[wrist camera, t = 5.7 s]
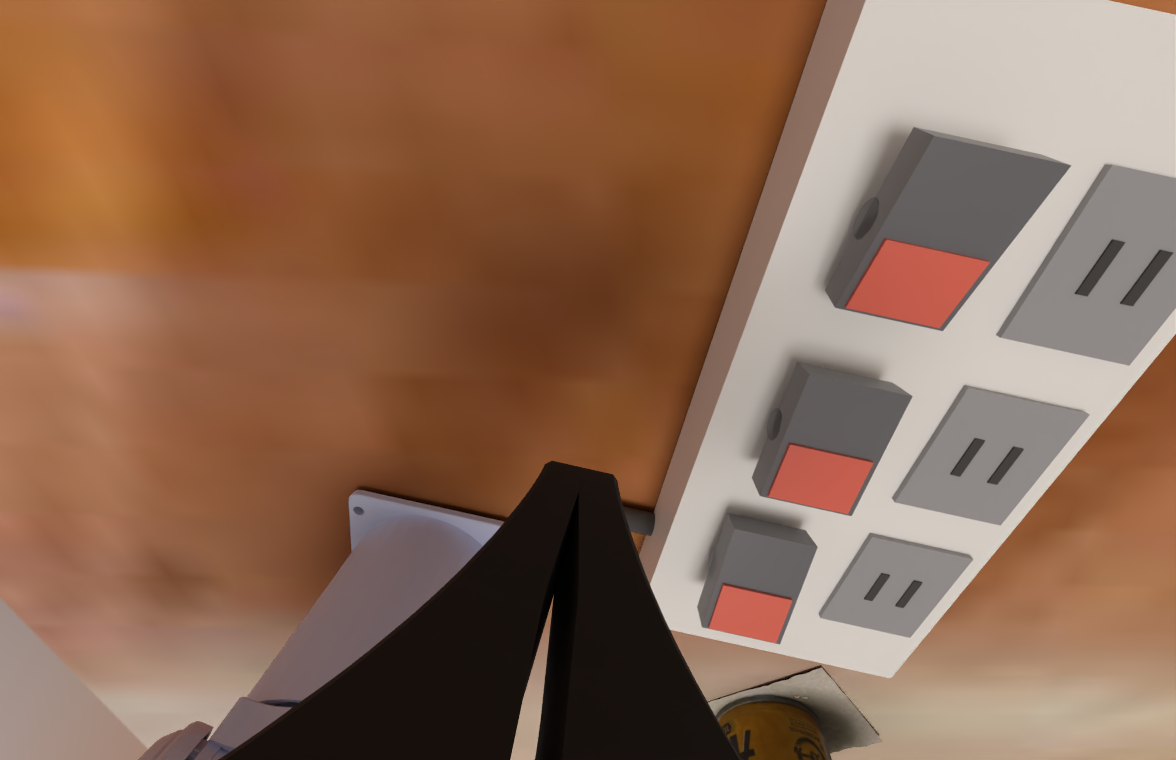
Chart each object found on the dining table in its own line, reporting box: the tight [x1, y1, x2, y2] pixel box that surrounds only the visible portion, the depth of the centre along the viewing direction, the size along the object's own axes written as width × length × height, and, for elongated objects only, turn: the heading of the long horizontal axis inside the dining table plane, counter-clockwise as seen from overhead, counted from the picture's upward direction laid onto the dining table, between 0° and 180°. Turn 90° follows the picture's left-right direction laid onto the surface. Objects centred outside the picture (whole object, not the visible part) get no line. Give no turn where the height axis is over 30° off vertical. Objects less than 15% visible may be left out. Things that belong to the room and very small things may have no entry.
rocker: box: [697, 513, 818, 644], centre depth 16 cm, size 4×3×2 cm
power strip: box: [623, 0, 1176, 678], centre depth 16 cm, size 22×15×4 cm
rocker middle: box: [752, 362, 913, 516], centre depth 14 cm, size 4×3×2 cm
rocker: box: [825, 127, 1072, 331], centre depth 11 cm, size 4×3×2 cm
